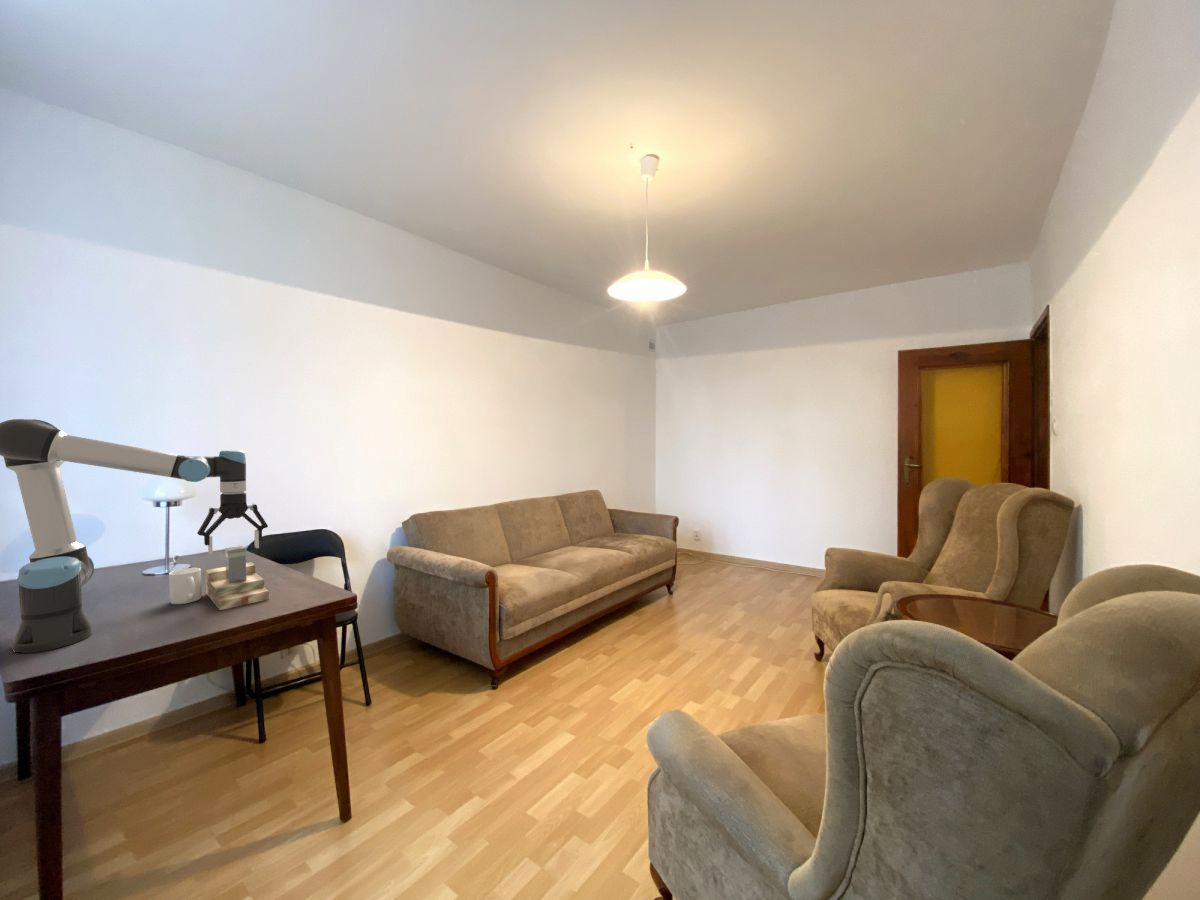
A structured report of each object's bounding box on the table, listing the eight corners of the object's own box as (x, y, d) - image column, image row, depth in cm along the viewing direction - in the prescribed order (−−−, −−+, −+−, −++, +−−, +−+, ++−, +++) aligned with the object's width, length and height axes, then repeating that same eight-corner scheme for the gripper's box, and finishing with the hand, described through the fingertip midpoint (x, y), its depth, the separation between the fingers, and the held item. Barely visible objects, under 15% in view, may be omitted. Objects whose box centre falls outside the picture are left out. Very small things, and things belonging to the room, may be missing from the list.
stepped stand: (220, 610, 160) (219, 584, 160) (206, 593, 177) (205, 570, 176) (269, 599, 171) (268, 574, 170) (252, 584, 187) (251, 562, 187)
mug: (178, 608, 162) (177, 577, 162) (166, 601, 169) (165, 572, 168) (209, 600, 169) (208, 571, 169) (196, 594, 176) (195, 566, 175)
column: (229, 583, 170) (227, 550, 169) (226, 580, 173) (224, 548, 173) (246, 580, 174) (245, 547, 173) (243, 577, 177) (242, 545, 177)
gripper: (190, 496, 160) (191, 559, 161) (276, 490, 179) (277, 546, 180) (186, 494, 165) (187, 555, 166) (271, 489, 184) (271, 543, 185)
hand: (234, 550), depth 173 cm, fingers open, 13 cm apart
